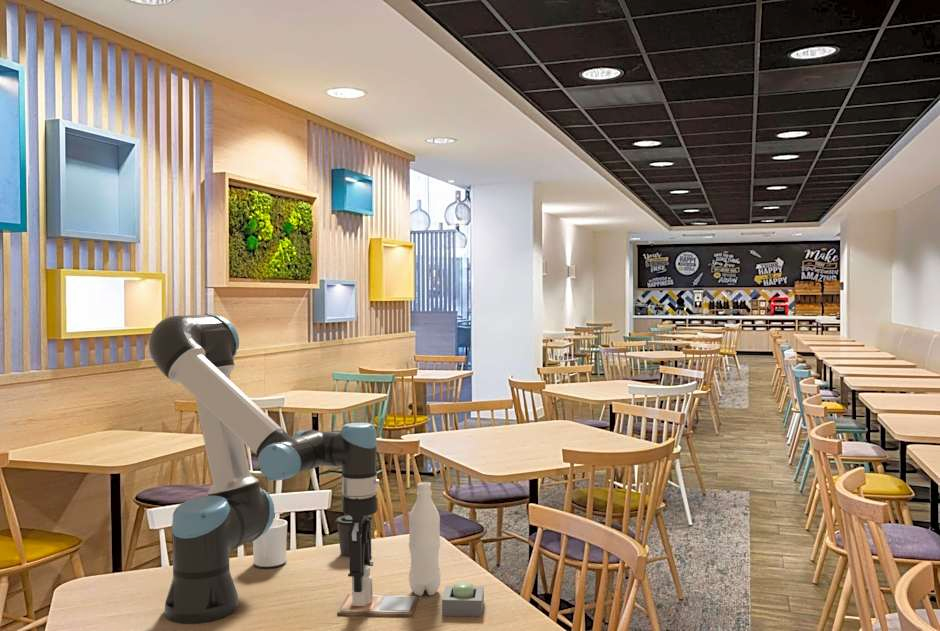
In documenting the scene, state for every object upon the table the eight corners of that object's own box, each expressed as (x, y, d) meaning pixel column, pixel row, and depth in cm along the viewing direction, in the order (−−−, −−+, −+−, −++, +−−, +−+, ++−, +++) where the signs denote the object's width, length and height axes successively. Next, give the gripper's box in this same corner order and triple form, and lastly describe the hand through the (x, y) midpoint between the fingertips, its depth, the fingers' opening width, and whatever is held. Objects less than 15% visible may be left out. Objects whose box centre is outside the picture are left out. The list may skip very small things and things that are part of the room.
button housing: (442, 615, 174) (441, 599, 174) (446, 601, 182) (445, 585, 182) (481, 616, 173) (481, 600, 173) (483, 601, 181) (483, 586, 181)
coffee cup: (331, 558, 212) (331, 519, 212) (341, 548, 220) (341, 511, 220) (361, 559, 211) (361, 521, 211) (370, 549, 219) (370, 512, 219)
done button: (452, 602, 175) (452, 589, 175) (454, 594, 180) (454, 582, 180) (472, 602, 175) (472, 589, 175) (474, 595, 180) (474, 582, 179)
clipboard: (337, 615, 174) (337, 611, 174) (347, 597, 185) (347, 593, 185) (411, 616, 173) (411, 612, 173) (418, 598, 183) (418, 594, 183)
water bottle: (436, 598, 183) (435, 487, 183) (405, 596, 185) (404, 486, 184) (443, 587, 190) (443, 480, 190) (413, 585, 192) (413, 479, 191)
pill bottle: (364, 597, 182) (364, 562, 182) (376, 602, 179) (376, 567, 179) (348, 602, 179) (347, 567, 179) (360, 607, 176) (360, 572, 176)
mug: (260, 557, 213) (259, 518, 213) (292, 558, 212) (292, 519, 212) (242, 571, 202) (242, 530, 202) (277, 573, 201) (276, 531, 201)
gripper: (369, 505, 170) (370, 616, 170) (384, 485, 187) (385, 587, 188) (333, 504, 170) (335, 616, 171) (351, 485, 188) (353, 586, 188)
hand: (361, 600), depth 179 cm, fingers closed on pill bottle, 4 cm apart
